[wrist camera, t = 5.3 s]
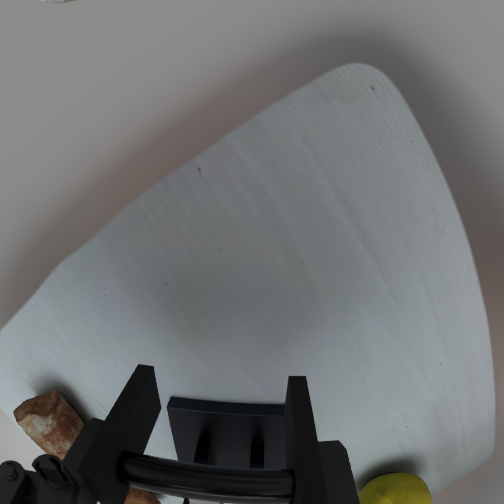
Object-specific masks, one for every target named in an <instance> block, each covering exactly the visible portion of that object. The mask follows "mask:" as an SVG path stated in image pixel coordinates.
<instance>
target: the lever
mask: <svg viewBox="0 0 504 504" xmlns="http://www.w3.org/2000/svg"><path fill="white" fill-rule="evenodd" d="M116 475H117V479H118V481H119V482H120V483H121V484H123V485H127V486H131V487H134V488H138V489H142V490H147V491H151V492H156V493H160V494H165V495H170V496H176V497H182V498H188V499H189V502H190V504H224V503H233V504H292V503H293V501H294V496H295V474H294V470H293V469H292V468H283V469H269V468H240V467H226V466H214V465H205V464H197V463H189V462H183V461H176V460H170V459H165V458H159V457H154V456H149V455H145V454H140V453H136V452H131V451H127V450H126V451H123V452H122V453H121V454H120V456H119V458H118V461H117V466H116Z"/></svg>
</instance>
